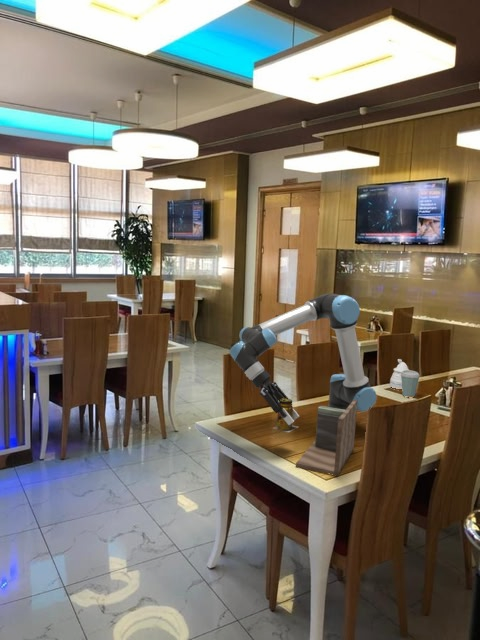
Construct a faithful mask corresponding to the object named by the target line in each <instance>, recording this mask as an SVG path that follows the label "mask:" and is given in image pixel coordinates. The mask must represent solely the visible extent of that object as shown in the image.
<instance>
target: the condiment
mask: <svg viewBox="0 0 480 640" xmlns="http://www.w3.org/2000/svg"><path fill="white" fill-rule="evenodd" d="M288 398H289V397H288ZM288 398H282V399H280V400H279V403H280V405H281V406H282V408H284V409H285V410H286V411H287V412H288V414H289V415H290V416H291V418H292V419H293V409H294V407H293V399H291V398H289V399H288ZM298 428H299V426H296V425H293V423H291V424H290V425H288V424H287V422H286V421H285V420H284V419H283V417H282V416H281V415H280V414H279V412H278V413H277V423H276V426H274V427H273V429H275V430H276V431H280V432H283V433H290V432H292V431H294V430H296V429H298Z"/></svg>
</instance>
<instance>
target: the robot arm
mask: <svg viewBox="0 0 480 640" xmlns="http://www.w3.org/2000/svg"><path fill="white" fill-rule="evenodd" d="M360 312H361V309H360V305H359V303H358V302H357V300H356V299H354V298H353V297H351V296H349V295H345V294H337V293H332V292H330V293H325V294H321V295H319V296H315V297H314V298H311V299H310V300H307V301H305V303H304V305H301V306H298V307H297V308H294V309H292V310H289V311H286V312H285V313H282V314H280V315H277V316H276V317H273V318H270V319H268V320H265V321H264V322H262V323H259V324H257V325H253V326H251V327H250V326H246V327H243V328H241V330H240V331H239V335H238V336H239V341H238V342H236V343H235V344H234V345H233V346H232V347H231V348H230V349H229V351H228V352H229V355H230V356H231V357H232V359H233V361H234V362H235V363H236V364H237V365H238V367H239V368H240V369H241V370H242V371H243V373H244V374H245V377H247V378H248V379H249V380H250V381H251V383H252V384H253V386H254V387H255V388H256V389H258V388H259V389H260V390H261V391H259V394H260V396H261V397H262V398H263V399H264V400H265V402H266V403H267V404H268V405H269V407H270V408H271V410H273V412H274V413H275V414H278V412H279V414H280V415H281V416H282V417H283V419H284V420H285V421H286V422H287V424H288V425H290V424H291V423H292V424H293V423H294V422H295V421H296V420H297V419H298V418H299V417H300V415H299V414H298V412H297V411H296V410H295V409H294V408H293V418H291V416H290V415H289V414H288V412H287V411H286V410H285V409H284V408H282V406H281V405H280V403H279V400H280V399H282V398H288V399H290V398H289V397H288V396H287V395H286V393H285V392H283V390H282V389H281V387H279V385H278V384H277V382H276V381H274V382H272V381H271V380H270V379H271V377H272V376H271V375H270V373H269V372H268V371H267V370H265V367H264V366H263V365H262V363H260V361H259V360H258V359H257V358H258V357H259V356H261V355H263V353H265V352H266V351H268V350H269V349H270V348H272V347H273V346H274V345H275V344H276V343H277V341H278V340H277V337H276V336H278V335H280V334H282V333H284V332H286V331H289V330H292V329H294V328H296V327H299V326H300V325H303V324H305V323H308V322H310V321H313V322H315V321H318V320H320V319H328V320H329V325H330V328H331V329H332V330H333V331H335V336H336V341H337V345H338V350H339V355H340V359H341V364H342V369H343V373H339V374H338V373H336V374H335V373H334V374H332V375H331V377H330V381H329V394H328V395H329V396H328V405H327V407H332V408H337V409H343V410H346V409H347V408H348V406H349V405H350V404H351V403H352V401H353V400H358V402H357V411H359V412H367V411H369V410H370V409H369V407H371V408H372V407H374V404H376V401H377V393H376V391H375V389H374V388H373V387H371V385H370V381H369V377H367V376H366V375H365V373H364V368H363V363H362V357H361V353H360V348H359V343H358V337H357V333H356V332H357V331H356V326H357V325H358V319H359V316H360ZM368 409H369V410H368Z"/></svg>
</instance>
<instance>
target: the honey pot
mask: <svg viewBox="0 0 480 640" xmlns="http://www.w3.org/2000/svg"><path fill="white" fill-rule="evenodd" d="M402 360H403V359H401V358H398V359H397V362H398V364H397V366H396V367H394V368H393V373H392V375H391V377H390V380H389V388H390V387H392V388H396V389H402V379H401V373H402V371H404V370H409V366H408V365H407V363H405V362H404V361H402ZM392 388H391V389H392Z"/></svg>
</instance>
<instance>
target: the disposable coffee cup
mask: <svg viewBox="0 0 480 640" xmlns="http://www.w3.org/2000/svg"><path fill="white" fill-rule="evenodd" d="M401 379H402V391H401V393H402V396H403V395H405V396H415V397H416V392H417V387H418V384H419V380H420V374H419V372H418V371H415V370H410V369H408V370H404V371H402V373H401Z"/></svg>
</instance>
